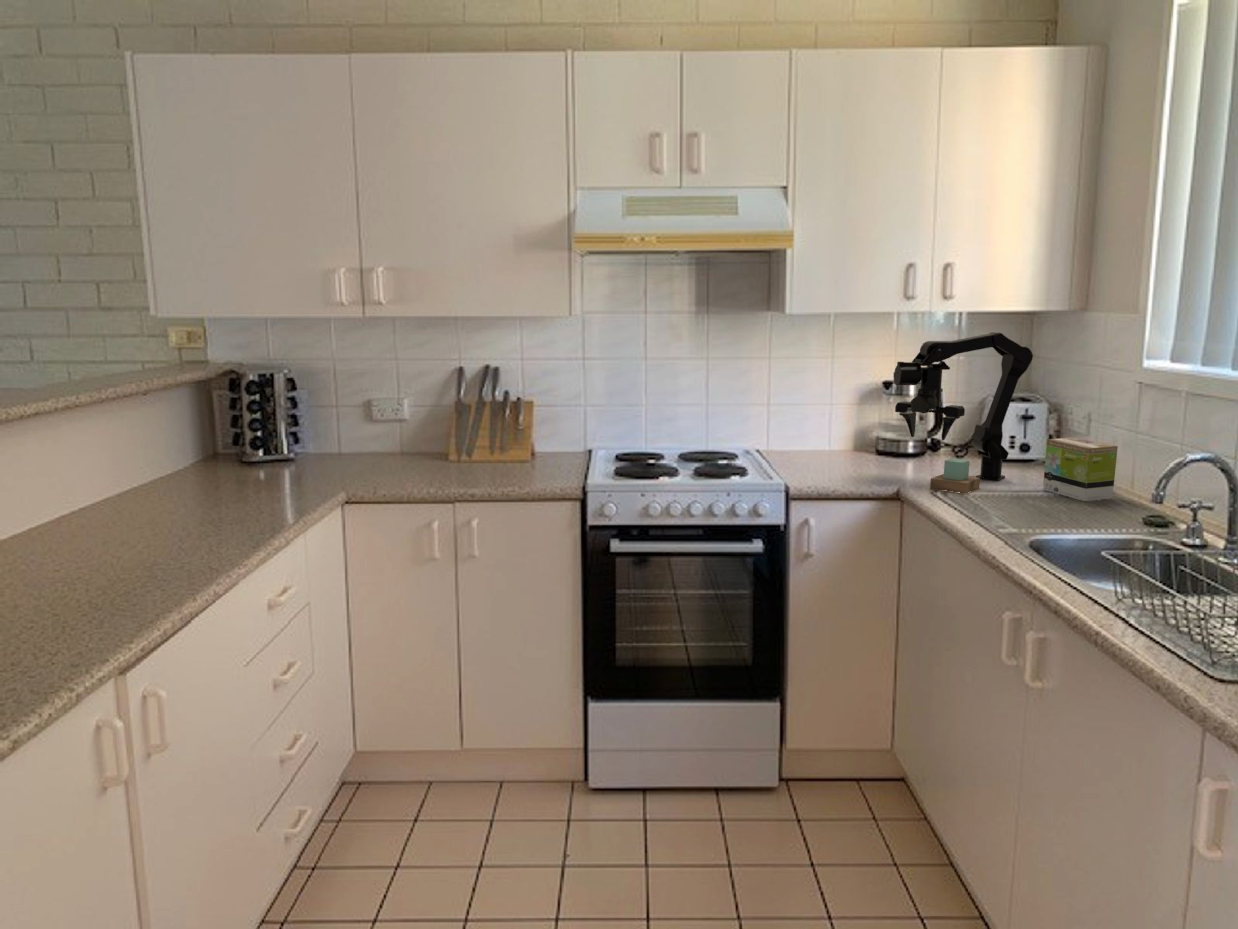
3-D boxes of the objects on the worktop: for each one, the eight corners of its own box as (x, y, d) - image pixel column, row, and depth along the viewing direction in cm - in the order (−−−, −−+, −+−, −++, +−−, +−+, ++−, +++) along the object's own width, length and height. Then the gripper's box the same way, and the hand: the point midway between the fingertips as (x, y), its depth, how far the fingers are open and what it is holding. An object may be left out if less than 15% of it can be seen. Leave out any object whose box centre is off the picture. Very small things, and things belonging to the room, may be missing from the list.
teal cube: (950, 475, 260) (951, 458, 260) (968, 478, 257) (969, 460, 256) (943, 478, 257) (944, 460, 256) (961, 480, 253) (962, 462, 253)
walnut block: (944, 485, 265) (944, 473, 264) (979, 490, 258) (980, 477, 258) (929, 490, 257) (930, 478, 257) (965, 495, 251) (966, 483, 250)
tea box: (1041, 490, 255) (1045, 438, 252) (1069, 488, 258) (1074, 436, 256) (1084, 502, 241) (1089, 446, 238) (1114, 499, 244) (1119, 444, 242)
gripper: (888, 385, 266) (885, 438, 269) (951, 389, 254) (948, 445, 257) (904, 382, 275) (901, 434, 277) (967, 386, 262) (963, 440, 265)
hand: (927, 438), depth 269 cm, fingers open, 9 cm apart
